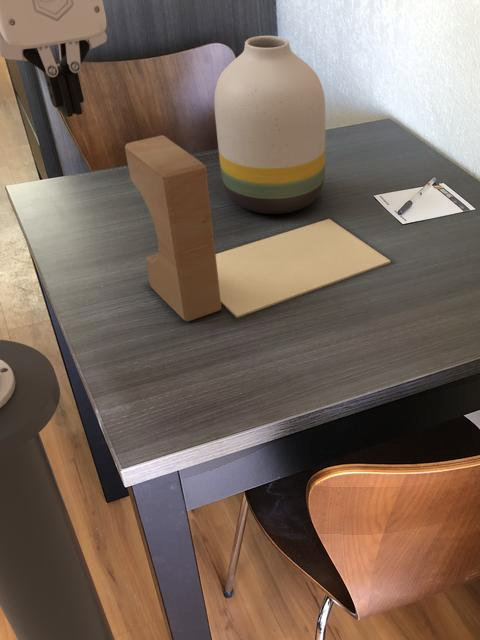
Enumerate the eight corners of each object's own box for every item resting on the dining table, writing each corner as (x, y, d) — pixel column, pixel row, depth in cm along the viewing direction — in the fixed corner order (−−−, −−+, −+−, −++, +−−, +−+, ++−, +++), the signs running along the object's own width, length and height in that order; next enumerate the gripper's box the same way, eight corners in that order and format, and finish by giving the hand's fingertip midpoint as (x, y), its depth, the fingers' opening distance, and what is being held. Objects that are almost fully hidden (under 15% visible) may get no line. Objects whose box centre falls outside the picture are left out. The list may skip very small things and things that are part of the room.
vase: (249, 172, 130) (238, 20, 113) (338, 187, 126) (341, 32, 109) (206, 214, 118) (187, 51, 102) (303, 231, 114) (300, 65, 98)
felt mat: (236, 318, 97) (236, 315, 97) (182, 266, 106) (182, 264, 106) (390, 263, 108) (390, 260, 108) (329, 220, 117) (329, 218, 117)
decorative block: (149, 287, 102) (122, 142, 88) (186, 275, 104) (165, 133, 91) (184, 324, 96) (161, 175, 82) (223, 311, 98) (207, 164, 84)
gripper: (-58, -90, 59) (10, 138, 72) (115, -104, 66) (150, 108, 78) (-80, -102, 64) (-12, 115, 77) (84, -115, 70) (122, 88, 83)
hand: (70, 111), depth 78 cm, fingers closed
